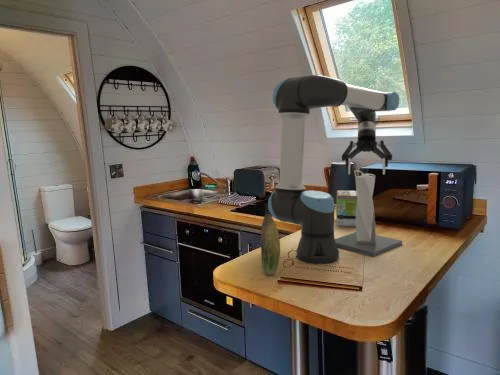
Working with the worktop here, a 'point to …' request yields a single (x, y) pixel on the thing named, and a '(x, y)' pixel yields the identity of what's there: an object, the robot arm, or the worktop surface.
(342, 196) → the tea box
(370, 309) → the worktop surface
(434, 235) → the worktop surface
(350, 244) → the charcoal board
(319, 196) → the robot arm
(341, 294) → the worktop surface
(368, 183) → the skyscraper
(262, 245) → the vegetable
